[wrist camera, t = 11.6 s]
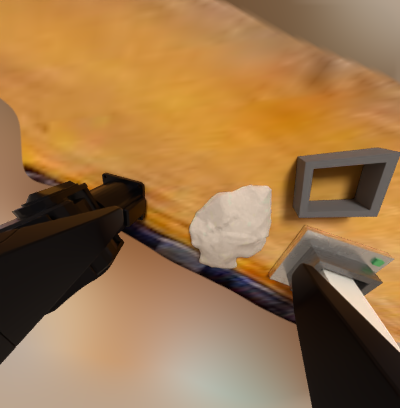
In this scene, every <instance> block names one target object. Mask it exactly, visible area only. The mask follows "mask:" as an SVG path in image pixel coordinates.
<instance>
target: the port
mask: <svg viewBox="0 0 400 408" xmlns="http://www.w3.org/2000/svg"><path fill="white" fill-rule="evenodd" d="M393 260H394V258H393V257H392V256H391V255H390V254H389V253H387V252H384V251H381V250H378V249H375V248H372V247H369V246H366V245H363V244H360V243H357V242H354V241H351V240H348V239H345V238H342V237H339V236H336V235H333V234H330V233H327V232H324V231H321V230H318V229H315V228H312V227H309V226H306V225H305V226H304V227H303V229H302V230H301V231H300V233H299V234H298V235H297V237H296V238H295V239H294V240H293V242H292V243H291V244H290V246H289V247H288V248H287V250H286V251H285V252H284V254H283V255H282V256H281V258H280V259H279V260H278V261H277V263H276V264H275V265H274V267H273V268H272V269H271V271H270V272H269V278H270V279H273V280H275V281H278V282H281V283H283V284H286V285H289V286H290V290H291V291H292V281H291V277H292V274H293V272H294V271H295V270H296V268H297V267H298V266H299V264H300V263H305V264H308V265H311V266H313V267H314V268H315V269H316V270H317V271H318V272H319V271H320V270H321V269H322V268H325V269H328V270H331V271H334V272H337V273H339V274H342V275H345V276H348V277H351V278H352V279H353V281H354V282H355V284H356V285H357V286H358V288H359V289H360V291H361V292H362V294H363V295H366V294H367V293H369V292H370V291H372V290H373V289H375V288H376V287H377V286H379V285H380V284H382V283H383V282H382V281H381V280H380V279H379V277H378V276H377V275H376V274H375V273H377V272H378V271H379V270H381V269H382V268H383V267H385V266H386V265H387V264H389V263H390V262H391V261H393Z"/></svg>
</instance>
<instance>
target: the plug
mask: <svg viewBox="0 0 400 408" xmlns="http://www.w3.org/2000/svg"><path fill="white" fill-rule="evenodd" d="M319 273H320V274H321V275H322V276H323V277H324V278H325V279H326V280H327V281H328V282H329V283H330V284H331V285H332V286H333V287H334V288H335V289H336V290H337V291H338V292H339V293H340V294H341V295H342V296H343V297H344V298H345V299H346V300H347V301H348V302H349V303H350V304H351V305H352V306H353V307H354V308H355V309H356V310H357V311H358V312H359V313H360V314H362V315H363V316H364V317H365V318H366V319H367V320H368V321H369V322H370V323H371V324H372V325H373V326H374V327H375V328H376V329H377V330H378V331H379V332H380V333H381V334H382V335H383V336H384V337H385V338H386V339H387V340H388V341H389V342H390V343H391V344H392V345H393V346H394V347H395V348H396V349H397V350H398V351H399V352H400V348H399V346H398V345H397V343H396V342H395V340H394V339H393V338H392V336H391V335H390V333H389V332H388V330H387V329H386V327H385V326H384V324H383V323H382V322H381V320H380V319H379V317H378V316H377V314H376V313H375V311H374V310H373V308H372V307H371V305H370V304H369V303H368V301H367V300H366V298H365V297H364V295H363V294H362V292H361V291H360V289H359V288H358V286H357V285H356V284H355V282H354V281H353V279H352V278H351V277H348V276H345V275H342V274H339V273H337V272H334V271H331V270H328V269H325V268H322V269H321V270H320V271H319Z"/></svg>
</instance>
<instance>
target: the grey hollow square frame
mask: <svg viewBox="0 0 400 408" xmlns="http://www.w3.org/2000/svg"><path fill="white" fill-rule="evenodd" d="M399 157H400V152H397V151H392V150H387V149H382V148H370V149H361V150H352V151H343V152H334V153H325V154H317V155H308V156H299V157H298V159H297V169H296V179H295V189H294V199H293V208H294V210H295V211H296V213H297V215H298V217H299V218H313V217H377V215H378V213H379V210H380V207H381V205H382V202H383V199H384V197H385V194H386V191H387V189H388V186H389V183H390V181H391V178H392V175H393V173H394V170H395V167H396V165H397V162H398V159H399ZM362 164H364V166H363V170H362V173H361V177H360V180H359V184H358V187H357V191H356V194H355V198H354V199H344V200H319V201H309V197H310V190H311V184H312V177H313V170H314V169H318V168H329V167H340V166H351V165H362Z"/></svg>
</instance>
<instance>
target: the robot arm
mask: <svg viewBox="0 0 400 408" xmlns="http://www.w3.org/2000/svg"><path fill="white" fill-rule="evenodd" d="M106 176H107V177H106ZM102 178H103V185H100V186H98V187H96V188H94V189H92V190H90V191H89V190H88V188H87V187H88V186H87V185H86V183H83V184H80V185H78V183H77V184H75V183H73V182H71V181H68V182H65V183H62V184H60V185H57V186H54V187H51V188H48V189H45V190H42V191H39V192H36V193H33V194H30V195H29V197H28V199H27V202H26V203H25V204H23V205H21V206H22V208H19V209H17V210H14V211H12V212H13V213H14V214H15V216H16V217H17V218H16V219H14V220H11V221H9V222H7V223H4V224H2V225H0V364H1V363H2V362H3V361H4V360H5V359H6V358H7V356H8V355H9V354H10V353H11V352H12V351H13V350H14V349H15V347H16V346H17V345H18V344H19V343H20V342H21V341H22V340H23V339H24V337H25V336H26V335H27V334H28V333H29V332H30V331H31V330H32V329H33V328H34V326H35V325H36V324H37V323H38V322H39V321H40V320H41V319H42V318H43V316H44V315H46V314H48V313H51V312H53V311H55V310H56V309H57V308H58V307H59V306H60V305H61V304H63V303H64V302H65V301H66V300H67V299H68V298H70V297H71V296H72V295H73V294H74V293H76V292H77V291H78V290H80V289H81V288H82V287H84V286H85V285H87V284H88V283H90V282H92V281H94V280H95V279H97V278H98V277H100V276H101V275H102V274H103V273H105V272H106V270H108V268H109V267H110V266H111V264H112V263H113V261H114V259H115V257H116V256H117V254H118V252H119V251H120V249H121V247H122V246H123V244H124V241H123V240H122V239H121V238H120V237H119V235H118V233H120V232H121V231H122V230H123V229H124V228H125V227H126V226H127V227H129V226H131V225H132V224H133V223H134V222H135V221H136V220H137V219H139V220H143V219H144V217H145V216H144V212H145V197H144V184H143V183H142V182H139V181H135V180H131V179H127V178H124V177H120V176H116V175H113V174H109V173H104V174H103V175H102ZM140 185H141V187H140ZM291 281H292V293H293V305H294V314H295V320H296V325H297V330H298V335H299V341H300V346H301V351H302V356H303V362H304V366H305V372H306V377H307V383H308V388H309V393H310V398H311V404H312V408H400V352H399V351H398V350H397V349H396V348H395V347H394V346H393V345H392V344H391V343H390V342H389V341H388V340H387V339H386V338H385V337H384V336H383V335H382V334H381V333H380V332H379V331H378V330H377V329H376V328H375V327H374V326H373V325H372V324H371V323H370V322H369V321H368V320H367V319H366V318H365V317H364V316H363V315H362V314H360V313H359V312H358V311H357V310H356V309H355V308H354V307H353V306H352V305H351V304H350V303H349V302H348V301H347V300H346V299H345V298H344V297H343V296H342V295H341V294H340V293H339V292H338V291H337V290H336V289H335V288H334V287H333V286H332V285H331V284H330V283H329V282H328V281H327V280H326V279H325V278H324V277H323V276H322V275H321V274H320V273H319V272H318V271H317V270H316V269H315V268H314V267H313V266H311V265H308V264H305V263H300V264H299V266H298V267H297V268H296V270H295V271H294V272H293V274H292V277H291Z"/></svg>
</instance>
